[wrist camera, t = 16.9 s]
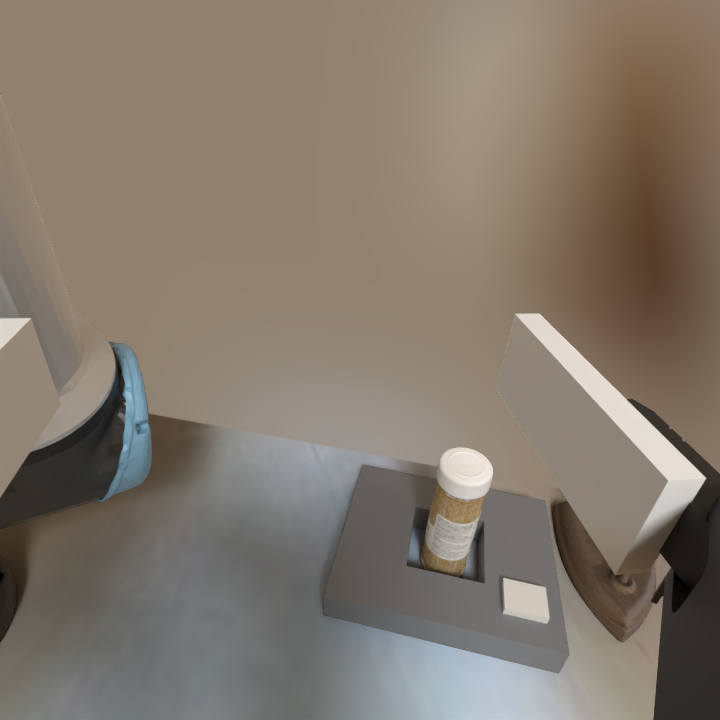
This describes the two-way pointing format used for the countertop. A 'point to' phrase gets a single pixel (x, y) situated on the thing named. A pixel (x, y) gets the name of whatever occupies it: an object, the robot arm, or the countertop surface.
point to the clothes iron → (602, 578)
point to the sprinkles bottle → (455, 510)
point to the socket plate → (448, 593)
